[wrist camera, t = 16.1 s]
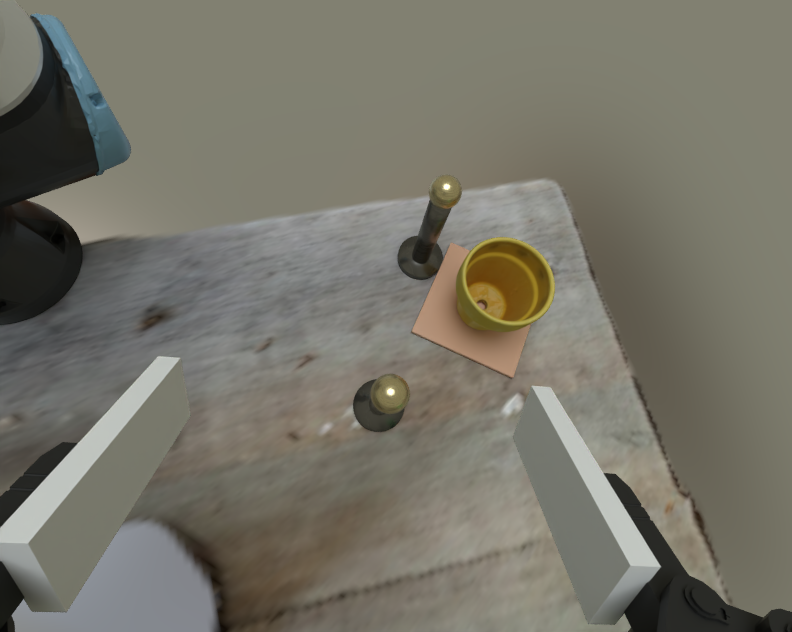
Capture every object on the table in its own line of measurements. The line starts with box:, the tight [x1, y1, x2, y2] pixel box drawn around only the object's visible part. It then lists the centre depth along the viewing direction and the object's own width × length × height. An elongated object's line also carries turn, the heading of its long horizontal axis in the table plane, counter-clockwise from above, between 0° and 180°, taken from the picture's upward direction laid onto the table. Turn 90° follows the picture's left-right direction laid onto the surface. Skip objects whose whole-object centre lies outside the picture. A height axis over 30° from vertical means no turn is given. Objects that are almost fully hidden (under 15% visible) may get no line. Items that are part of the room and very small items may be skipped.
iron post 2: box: [398, 175, 462, 280], centre depth 43 cm, size 6×6×17 cm
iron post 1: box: [353, 374, 410, 432], centre depth 37 cm, size 6×6×17 cm
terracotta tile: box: [411, 243, 531, 378], centre depth 50 cm, size 14×14×1 cm
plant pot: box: [456, 237, 555, 332], centre depth 45 cm, size 10×10×10 cm
